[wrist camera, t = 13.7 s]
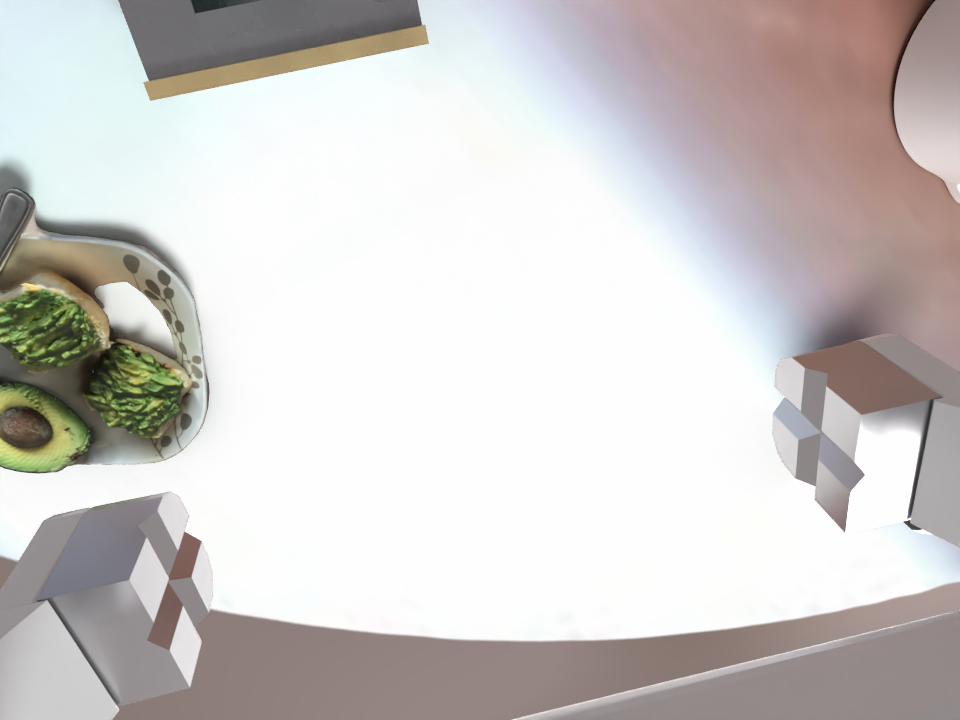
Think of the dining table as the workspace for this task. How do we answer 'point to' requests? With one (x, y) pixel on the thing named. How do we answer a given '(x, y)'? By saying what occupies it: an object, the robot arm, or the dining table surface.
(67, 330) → the salad plate
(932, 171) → the robot arm
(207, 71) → the socket block
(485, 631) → the dining table surface
